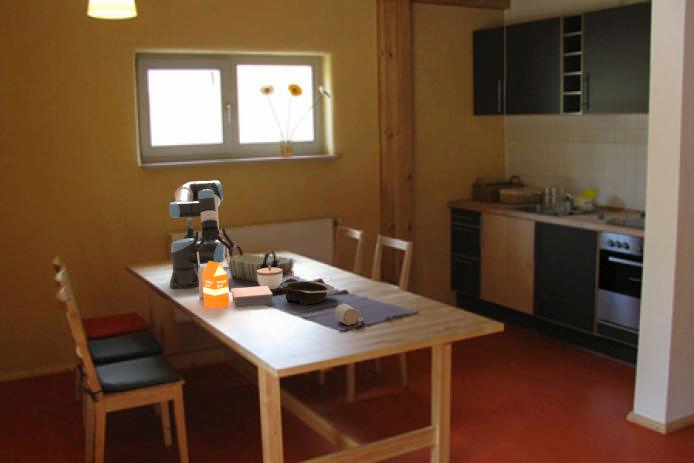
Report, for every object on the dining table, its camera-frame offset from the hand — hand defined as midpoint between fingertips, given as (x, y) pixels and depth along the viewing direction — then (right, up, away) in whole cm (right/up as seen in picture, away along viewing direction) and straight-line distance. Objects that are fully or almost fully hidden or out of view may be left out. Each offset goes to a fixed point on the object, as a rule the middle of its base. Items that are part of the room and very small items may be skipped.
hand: (214, 264), depth 375 cm
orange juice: (+4, -18, -15) cm, 24 cm away
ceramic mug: (+64, -22, -49) cm, 83 cm away
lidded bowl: (+25, -13, +16) cm, 32 cm away
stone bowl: (+45, -16, -10) cm, 49 cm away
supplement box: (-1, -15, +2) cm, 16 cm away
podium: (+19, -17, -10) cm, 27 cm away
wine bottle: (-21, -7, +57) cm, 61 cm away
